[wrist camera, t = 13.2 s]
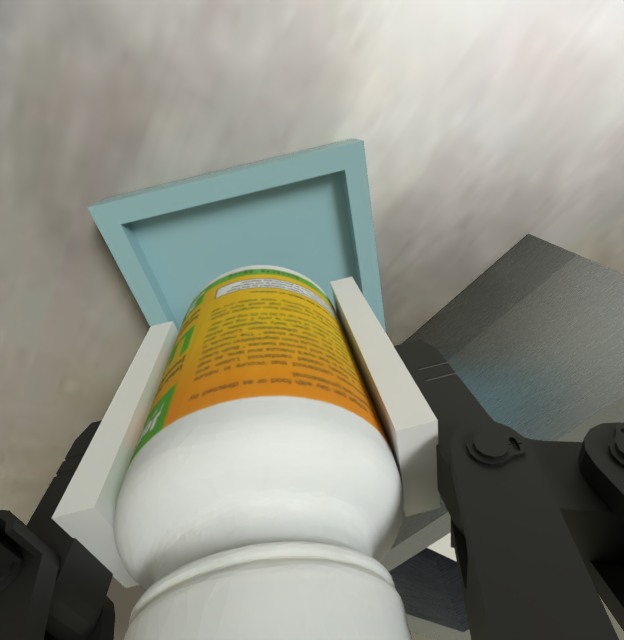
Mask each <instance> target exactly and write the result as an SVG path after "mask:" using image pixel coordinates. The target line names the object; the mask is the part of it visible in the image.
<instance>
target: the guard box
mask: <svg viewBox="0 0 624 640" xmlns="http://www.w3.org/2000/svg"><path fill="white" fill-rule="evenodd" d="M417 340H423V341H425V342H426V343H428V344H430V345H432V346H433V347H435V348H437V349H438V351H439V352H440V353H441V354H442V356H443V357H444V358H445V360H446V361H447V364H449V365H450V366H451V367H452V369H453V370H454V371H455V374H456V375H458V376H459V378H460V379H461V380H462V381H463V383H464V384H465V385H466V387H467V388H468V389H469V390H470V392H471V393H472V394H473V396H474V397H475V398H476V399H477V401H478V402H479V403H480V404H481V406H482V407H483V408H484V410H485V411H486V412H487V413H488V415H489V416H490V417H491V418H492V419H493V420H494V421H495V422H498V423H500V424H503V425H505V426H508V427H511V428H512V429H513V430H515V431H516V432H517V433H519V434H520V435H522V436H523V437H525V438H528V439H533V440H542V441H565V442H583V440H584V437H585V436H586V434H587V433H588V431H589V430H590V428H593V427H595V426H597V425H599V424H602V423H615V422H620V423H624V274H622V273H620V272H617V271H615V270H613V269H610V268H608V267H605V266H603V265H601V264H598V263H596V262H594V261H591V260H589V259H587V258H584V257H582V256H580V255H577V254H575V253H573V252H570V251H568V250H566V249H563V248H561V247H558V246H556V245H554V244H551V243H549V242H547V241H544V240H542V239H540V238H537V237H535V236H533V235H530V234H528V235H527V236H526V237H524V238H523V239H522V240H521V241H520V242H519V243H518V244H516V245H515V246H514V247H513V248H512V249H511V250H510V251H508V252H507V253H506V254H505V255H504V256H503V257H502V258H500V259H499V260H498V261H497V262H496V263H495V264H494V265H492V266H491V267H490V268H489V269H488V270H487V271H485V272H484V273H483V274H482V275H481V276H480V277H479V278H477V279H476V280H475V281H474V282H473V283H472V284H471V285H469V286H468V287H467V288H466V289H465V290H464V291H463V292H461V293H460V294H459V295H458V296H457V297H456V298H455V299H453V300H452V301H451V302H450V303H449V304H448V305H447V306H445V307H444V308H443V309H442V310H441V311H440V312H438V313H437V314H436V315H435V316H434V317H433V318H432V319H430V320H429V321H428V322H427V323H426V324H425V325H424V326H422V327H421V328H420V329H419V330H418V331H417V332H416V333H414V334H413V335H412V336H411V337H410V338H409V339H408V340H406V341H405V342H404V343H403V344H405V343H409V342H413V341H417ZM450 532H451V516H450V514H449V512H448V510H447V508H446V506H445V504H444V502H443V500H442V498H441V496H440V508H438V509H434V510H430V511H426V512H422V513H418V514H414V515H411V516H407V517H406V515H405V512H404V509H403V516H402V521H401V526H400V528H399V531H398V534H397V537H396V539H395V541H394V543H393V545H392V547H391V548H390V550H389V551H388V553H387V554H386V556H385V557H384V559H383V560H382V561H381V562H380V564H382V565H383V566H384V567H385V568H386V569H387V571H388V572H389V573H390V575H391V576H392V579H393V581H394V584H395V589H396V591H397V592H398V593H399V595H400V597H401V599H402V601H403V604H404V608H405V612H406V617H407V621H408V625H409V629H410V632H412V633H416V634H419V635H423V636H426V637H430V638H433V639H437V640H469V639H471V635H470V630H469V625H468V619H467V614H466V608H465V603H464V598H463V592H462V587H461V582H460V576H459V571H458V565H457V562H456V561H454V560H452V559H450V558H448V557H446V556H444V555H441V554H439V553H437V552H435V551H433V550H431V549H429V548H427V547H428V546H430V545H432V544H433V543H435V542H436V541H438V540H439V539H441V538H443V537H444V536H446V535H447V534H449V533H450Z"/></svg>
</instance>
